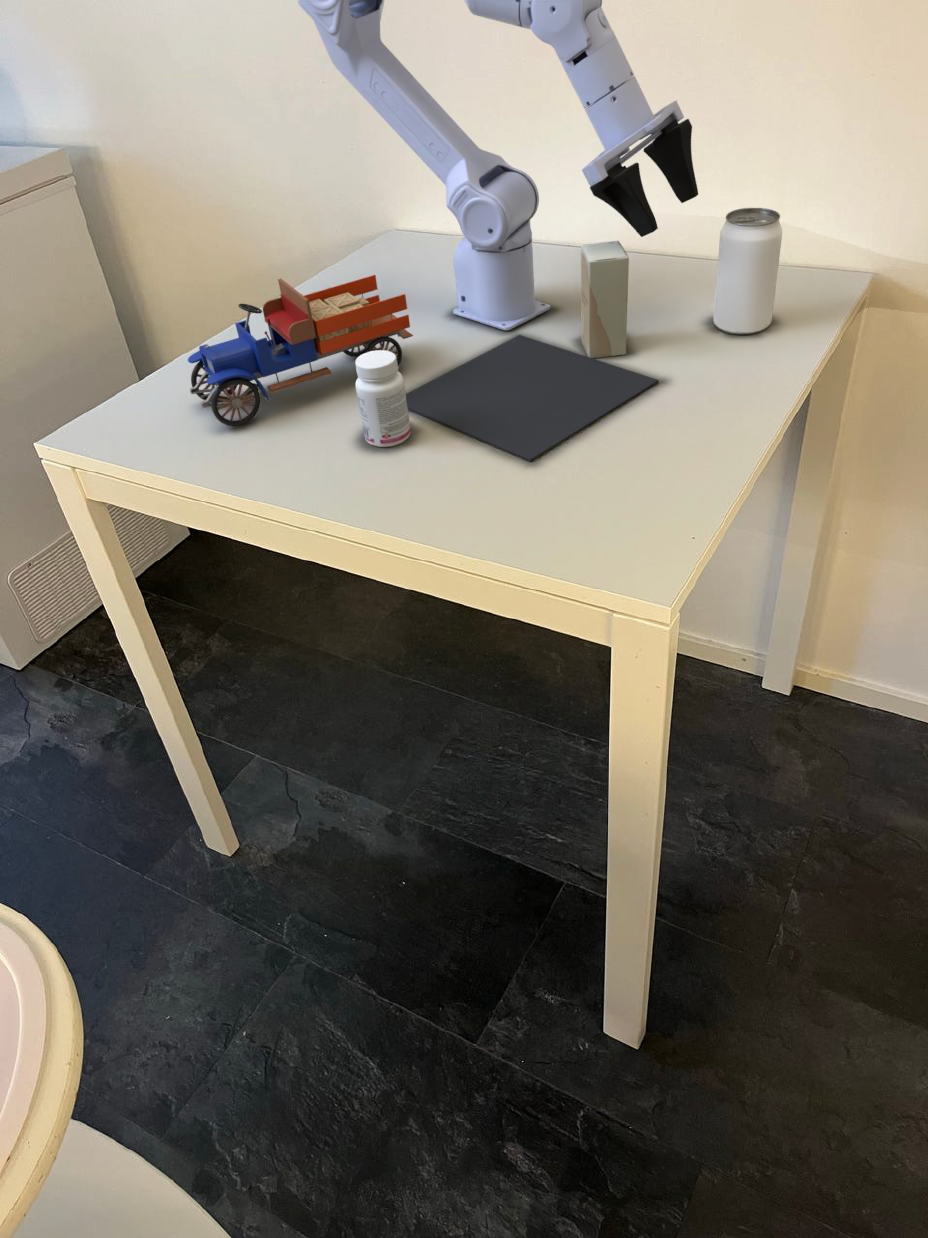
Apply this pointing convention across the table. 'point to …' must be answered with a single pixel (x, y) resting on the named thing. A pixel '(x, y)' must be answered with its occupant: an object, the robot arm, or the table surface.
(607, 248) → the box
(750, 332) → the can
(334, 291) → the toy truck
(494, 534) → the table surface
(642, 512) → the table surface
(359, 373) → the pill bottle
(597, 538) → the table surface
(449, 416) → the mat
